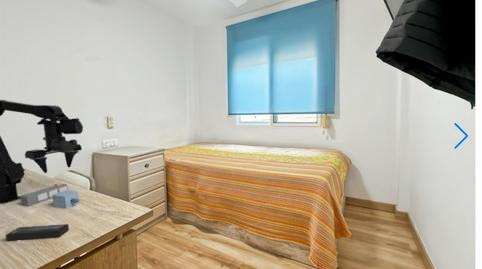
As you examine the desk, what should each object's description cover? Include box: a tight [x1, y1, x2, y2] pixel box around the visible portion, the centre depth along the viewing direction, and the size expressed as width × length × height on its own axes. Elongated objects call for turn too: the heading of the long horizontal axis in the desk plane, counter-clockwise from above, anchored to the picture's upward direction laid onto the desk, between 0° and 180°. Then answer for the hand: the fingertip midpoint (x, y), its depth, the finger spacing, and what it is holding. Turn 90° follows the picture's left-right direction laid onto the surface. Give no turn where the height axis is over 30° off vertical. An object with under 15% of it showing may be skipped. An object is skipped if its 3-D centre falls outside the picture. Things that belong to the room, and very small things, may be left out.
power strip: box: [20, 182, 69, 207], centre depth 92 cm, size 4×15×5 cm, turn 163°
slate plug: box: [52, 190, 80, 210], centre depth 85 cm, size 12×5×5 cm, turn 73°
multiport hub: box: [5, 223, 70, 242], centre depth 64 cm, size 4×14×2 cm, turn 96°
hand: (57, 169), depth 93 cm, fingers open, 9 cm apart
